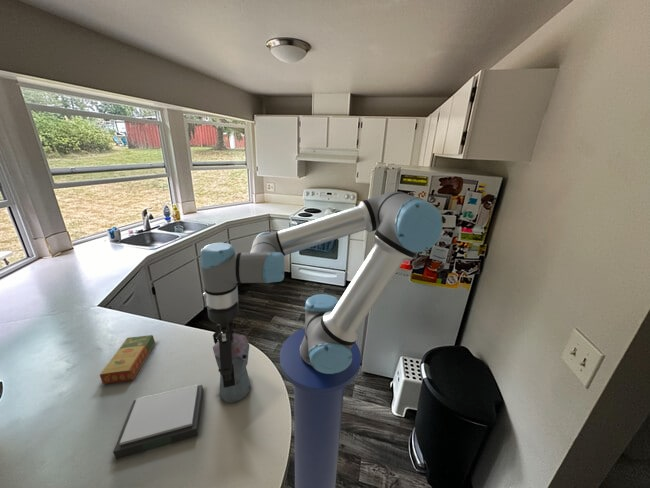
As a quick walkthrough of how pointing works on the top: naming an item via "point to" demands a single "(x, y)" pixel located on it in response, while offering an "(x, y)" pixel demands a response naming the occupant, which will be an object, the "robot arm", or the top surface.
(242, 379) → the moka pot
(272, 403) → the top surface
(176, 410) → the kitchen scale
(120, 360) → the carton
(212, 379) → the top surface
